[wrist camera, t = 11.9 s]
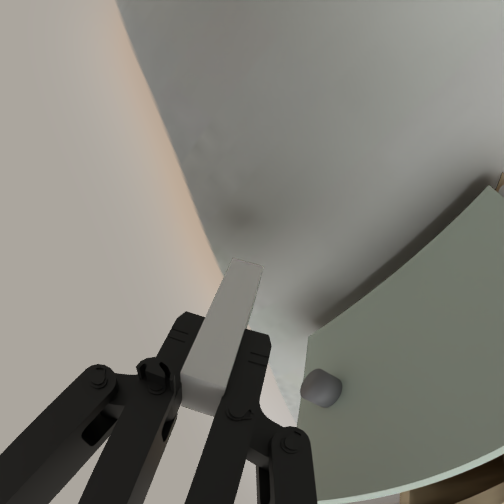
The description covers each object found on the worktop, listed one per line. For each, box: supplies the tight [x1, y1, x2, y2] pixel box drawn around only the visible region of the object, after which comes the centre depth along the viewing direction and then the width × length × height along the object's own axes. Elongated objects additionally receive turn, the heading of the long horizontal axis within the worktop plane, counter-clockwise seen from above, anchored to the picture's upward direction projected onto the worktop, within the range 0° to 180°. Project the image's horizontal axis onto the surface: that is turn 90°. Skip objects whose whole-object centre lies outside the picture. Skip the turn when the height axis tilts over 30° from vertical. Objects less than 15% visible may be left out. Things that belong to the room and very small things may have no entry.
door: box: [297, 185, 504, 504], centre depth 12 cm, size 18×3×13 cm, turn 145°
